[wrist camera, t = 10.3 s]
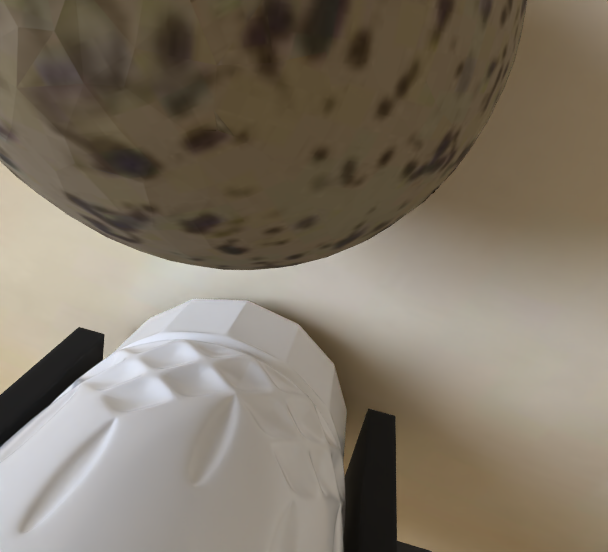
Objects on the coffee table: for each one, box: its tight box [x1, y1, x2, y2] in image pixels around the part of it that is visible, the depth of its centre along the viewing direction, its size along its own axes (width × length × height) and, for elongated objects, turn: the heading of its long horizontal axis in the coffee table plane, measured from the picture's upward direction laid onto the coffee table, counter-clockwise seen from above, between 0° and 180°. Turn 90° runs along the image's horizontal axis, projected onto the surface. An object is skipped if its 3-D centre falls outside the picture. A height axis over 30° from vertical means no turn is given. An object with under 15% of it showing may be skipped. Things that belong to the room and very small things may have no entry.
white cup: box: [0, 298, 347, 552], centre depth 11 cm, size 8×8×10 cm
